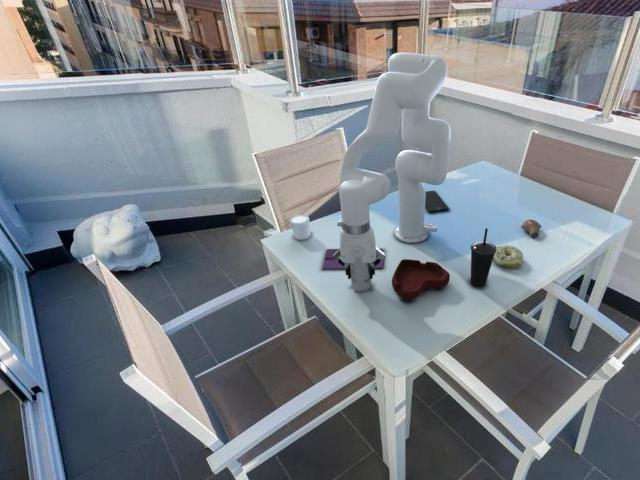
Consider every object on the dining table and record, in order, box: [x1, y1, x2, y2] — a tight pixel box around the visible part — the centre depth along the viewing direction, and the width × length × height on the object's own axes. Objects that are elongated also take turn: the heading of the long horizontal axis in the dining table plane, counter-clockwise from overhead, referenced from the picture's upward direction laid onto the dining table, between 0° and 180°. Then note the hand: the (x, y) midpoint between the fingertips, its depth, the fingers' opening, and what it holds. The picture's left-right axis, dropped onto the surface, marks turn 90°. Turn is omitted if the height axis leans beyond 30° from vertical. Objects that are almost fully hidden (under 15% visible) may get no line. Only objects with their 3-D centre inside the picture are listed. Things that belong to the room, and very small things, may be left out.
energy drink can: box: [349, 256, 372, 293], centre depth 116 cm, size 6×6×15 cm
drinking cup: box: [470, 227, 497, 289], centre depth 117 cm, size 8×8×20 cm
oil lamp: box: [520, 218, 542, 238], centre depth 147 cm, size 9×4×8 cm
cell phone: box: [425, 190, 450, 214], centre depth 166 cm, size 9×18×1 cm, turn 17°
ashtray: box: [391, 258, 451, 303], centre depth 120 cm, size 18×16×5 cm
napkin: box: [322, 248, 384, 270], centre depth 132 cm, size 20×11×1 cm, turn 92°
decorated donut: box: [493, 244, 524, 270], centre depth 132 cm, size 10×11×4 cm
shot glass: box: [289, 214, 311, 241], centre depth 142 cm, size 7×7×7 cm
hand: (360, 275), depth 118 cm, fingers closed on energy drink can, 6 cm apart
